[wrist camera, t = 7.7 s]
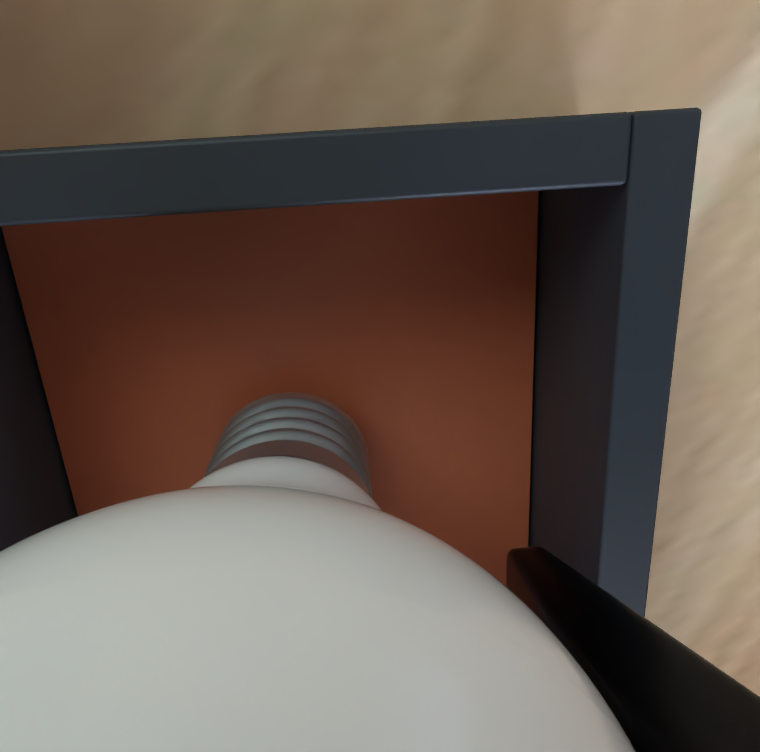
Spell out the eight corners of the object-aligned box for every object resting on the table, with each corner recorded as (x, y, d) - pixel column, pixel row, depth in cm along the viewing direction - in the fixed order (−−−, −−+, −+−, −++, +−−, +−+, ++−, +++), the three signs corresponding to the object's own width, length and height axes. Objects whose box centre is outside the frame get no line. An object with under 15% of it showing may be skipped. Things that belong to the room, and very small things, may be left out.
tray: (166, 933, 17) (122, 1135, 14) (-55, 158, 10) (-266, 167, 7) (542, 892, 18) (593, 1078, 14) (581, 119, 11) (703, 106, 7)
